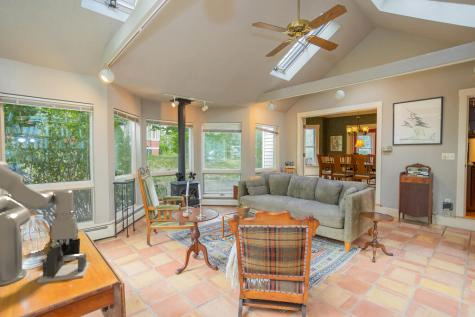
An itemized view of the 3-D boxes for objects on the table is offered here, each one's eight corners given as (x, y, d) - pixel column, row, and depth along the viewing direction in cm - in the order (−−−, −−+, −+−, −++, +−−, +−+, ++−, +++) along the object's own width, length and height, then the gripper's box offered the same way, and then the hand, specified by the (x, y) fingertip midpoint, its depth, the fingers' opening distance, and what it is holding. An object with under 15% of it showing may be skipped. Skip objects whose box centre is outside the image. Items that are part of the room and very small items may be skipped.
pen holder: (78, 252, 137) (78, 236, 136) (81, 258, 130) (81, 240, 130) (57, 257, 130) (57, 240, 130) (60, 264, 123) (60, 245, 123)
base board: (36, 283, 106) (36, 281, 106) (48, 269, 118) (48, 267, 118) (83, 277, 112) (83, 274, 112) (90, 264, 124) (90, 262, 124)
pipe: (42, 276, 110) (42, 260, 110) (47, 271, 115) (47, 255, 114) (83, 271, 116) (83, 255, 115) (86, 266, 120) (86, 251, 120)
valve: (48, 250, 139) (48, 258, 129) (48, 239, 138) (48, 246, 129) (62, 247, 143) (63, 255, 133) (62, 237, 142) (63, 243, 133)
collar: (46, 276, 108) (46, 253, 107) (56, 265, 118) (56, 244, 118) (54, 275, 109) (54, 252, 108) (63, 264, 119) (63, 243, 119)
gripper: (42, 219, 109) (43, 257, 110) (80, 216, 114) (81, 252, 115) (49, 214, 116) (50, 250, 117) (84, 211, 121) (85, 246, 122)
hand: (65, 251), depth 116 cm, fingers closed
